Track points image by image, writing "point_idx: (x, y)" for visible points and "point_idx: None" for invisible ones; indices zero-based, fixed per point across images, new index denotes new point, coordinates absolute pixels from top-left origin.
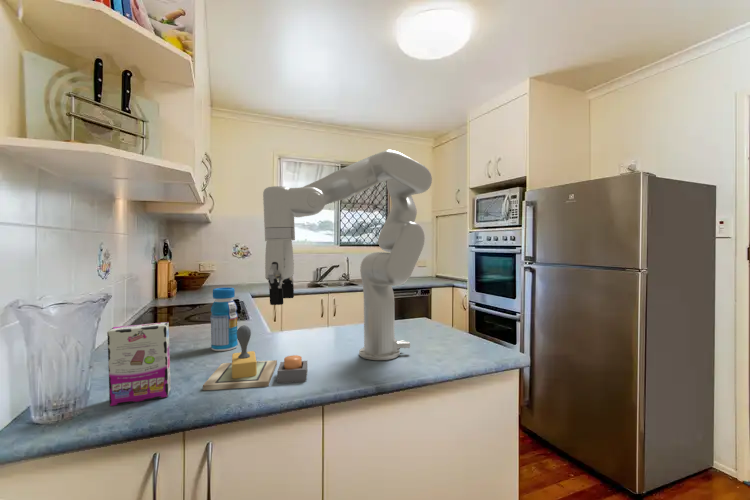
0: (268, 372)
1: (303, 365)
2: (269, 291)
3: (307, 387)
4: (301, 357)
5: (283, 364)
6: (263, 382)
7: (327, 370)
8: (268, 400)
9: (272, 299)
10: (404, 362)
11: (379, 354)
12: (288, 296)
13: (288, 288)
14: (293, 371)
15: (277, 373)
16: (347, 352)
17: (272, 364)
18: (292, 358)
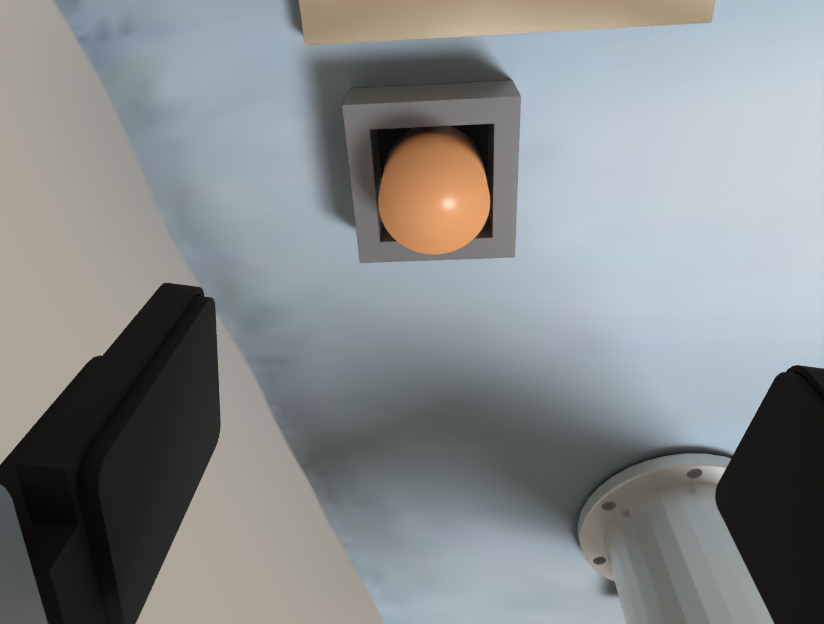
0: (459, 12)
1: None
2: (52, 419)
3: (292, 245)
4: (437, 253)
5: (466, 123)
6: (301, 14)
7: (507, 320)
8: (129, 81)
9: (84, 372)
10: (537, 574)
11: (607, 530)
12: (747, 463)
13: (811, 584)
14: (354, 195)
15: (343, 102)
16: None
17: (621, 7)
18: (422, 203)
